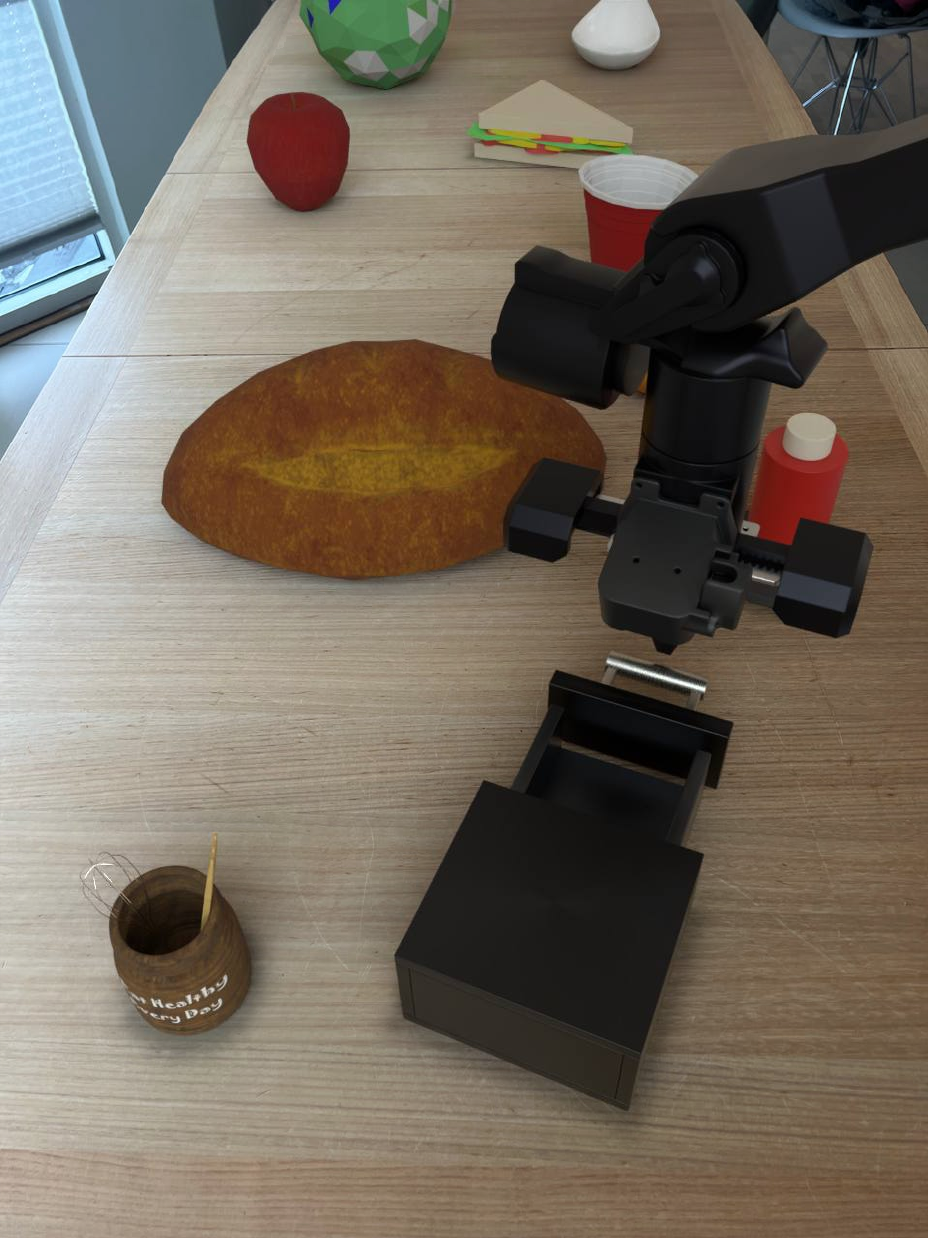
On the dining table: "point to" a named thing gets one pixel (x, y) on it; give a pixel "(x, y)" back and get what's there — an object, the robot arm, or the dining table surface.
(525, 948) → the cabinet
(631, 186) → the plastic cup
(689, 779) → the drawer
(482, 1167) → the dining table surface
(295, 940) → the dining table surface
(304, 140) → the apple
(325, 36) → the decorative sphere
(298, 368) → the bread
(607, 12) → the spoon rest
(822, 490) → the ketchup bottle
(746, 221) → the robot arm
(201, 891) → the utensil holder
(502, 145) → the sandwich
